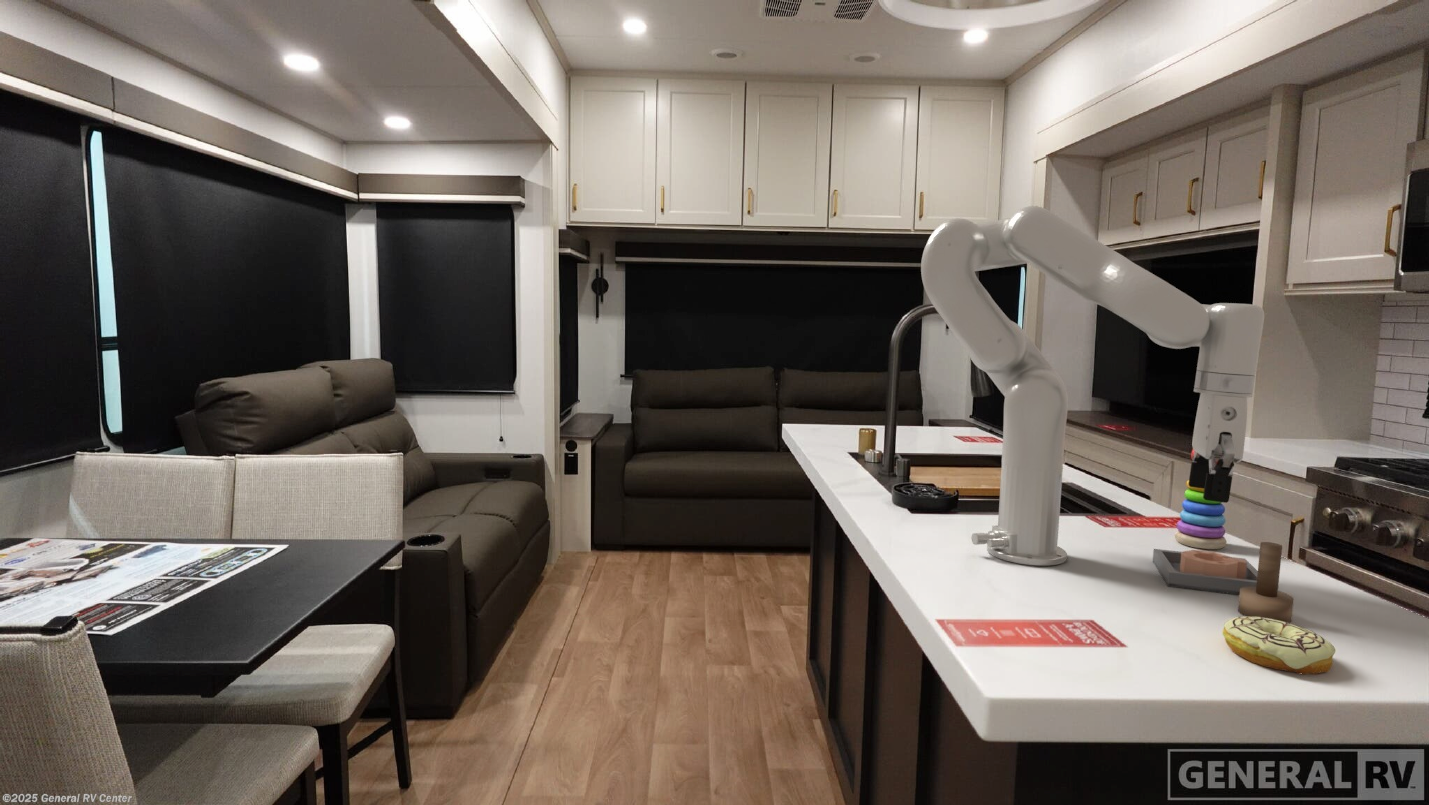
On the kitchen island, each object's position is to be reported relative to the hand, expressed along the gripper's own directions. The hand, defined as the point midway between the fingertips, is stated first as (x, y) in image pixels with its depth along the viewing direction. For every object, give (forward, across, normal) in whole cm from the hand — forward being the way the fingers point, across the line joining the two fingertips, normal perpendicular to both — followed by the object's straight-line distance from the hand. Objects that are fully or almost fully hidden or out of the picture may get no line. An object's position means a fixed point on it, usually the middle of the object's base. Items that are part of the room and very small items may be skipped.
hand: (1207, 494), depth 119 cm
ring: (+13, 0, -2) cm, 13 cm away
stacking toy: (+14, +22, -5) cm, 26 cm away
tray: (+13, 0, -2) cm, 13 cm away
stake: (+13, -14, -5) cm, 20 cm away
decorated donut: (+14, -30, -2) cm, 33 cm away
